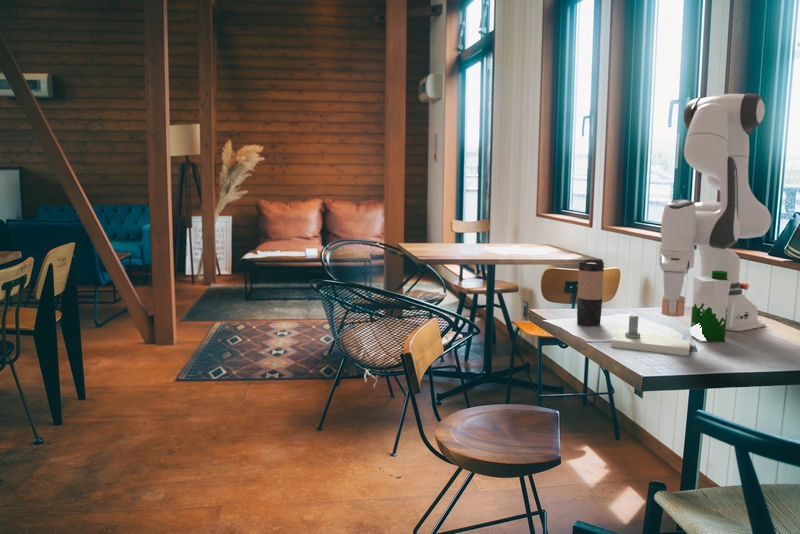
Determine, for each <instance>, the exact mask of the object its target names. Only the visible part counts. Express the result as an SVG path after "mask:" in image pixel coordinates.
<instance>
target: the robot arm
mask: <svg viewBox="0 0 800 534" xmlns="http://www.w3.org/2000/svg"><path fill="white" fill-rule="evenodd" d="M765 111H766V109H765V103H764V99H763V98H762V97H761V96H760V95H759V94H756V93H749V92H746V93H745V94H744V93H724V94H719V95H718V94H717V95H711V96H706V97H697V98H696V97H695V98H694V99H691V100H690V101H689V102H688V103H687V104H686V105H685V107H684V111H683V124H684V126H685V128H686V129H688V130H687V134H686V138H685V143H684V150H683V156H684V159H685V162H686V163H687V164H688V165H689V166H690V167H691V168H692V169H694V171H697V172H698V173H701V174H704V175H707V181H708V183H709V185H710V186H711V187H712V188H713V189H716V190H717V191H720V195H719V197H720V200H719V201H699V202H698V201H696V202H694V201H692V200H689V199H673V200H670V201H668V202H666V203H665V205H664V209H663V213H662V217H661V222H660V223H661V224H660V235H661V243H660V246H659V254H658V255H659V257H658V266H659V267H660V270H661V271H662V274H663V280H662V281H663V294H664V295H663V296H665V299H667V300H669V312H670V313H675V312H676V304H677V300H679V298H680V296H681V294H682V290H683V287H684V279H685V275H686V274H688V273H689V270H690V269H693V268H694V265H695V264H694V263H695V253H696V252H695V250H696V248H695V246H696V247H697V249H698V251H699V256H700V276H699V277H702V276H706V277H712V271H725V272H727V279H728V280H730V281H731V286H730V290H729V295H728V306H727V319H726V331H732V332H733V331H734V332H742V331H747V330H753V329H757V328H763V327H766V325H767V324H766V322H765V321H763V320H760V319H759V314H758V311H759V310H758V307H757V306H756V305H755V303H753V302H752V301H751V300H749V298H748V297H746V296H745V294H743V290H745V291H748V290H749V288H750V284H749V283H746V282H741V283H740V271H741V259H740V257H739V255H738V254H737V253H736V251H733V250H732V249H730V247H732V246H733V245H735V244H736V243H737V242H738V240H739V239H752V238H758V237H759V238H761V237H763V236H765V234H766V233H767V232H768V231H769V230H770V227H771V225H772V216H771V213H770V211H769V209H768V208H767V207H766V206H765V205H764V204H763V203H761V202H760V201H759V200H758V199H757V198H756V197H755V195H754V193H753V192H752V190H751V187H750V183H749V159H750V138H749V137H750V136H749V135H751V134H752V133H753V131H754V130H756V129H757V128H759V127H760V125H761V124H762V122H763V120H764V116H765Z"/></svg>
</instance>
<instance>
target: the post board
mask: <svg viewBox="0 0 800 534" xmlns="http://www.w3.org/2000/svg"><path fill="white" fill-rule="evenodd" d="M628 317H629V319H628V330H627V331H626V330H617V331H616V332H615V333H614V335H613V337H612V338H611V341H610V347H611V348H618V349H627V350H636V351H644V352H654V353H661V354H662V353H663V354H670V355H671V354H672V355H680V356H689V354H690V349H691V343H690V341H685V340H682V337H683V336H673V335H663V334H656V333H655V334H654V333H646V332H638V330H639V329H638V328H639V316H638V315H635V314H634V315H629V316H628Z"/></svg>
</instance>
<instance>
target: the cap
mask: <svg viewBox="0 0 800 534" xmlns="http://www.w3.org/2000/svg"><path fill="white" fill-rule="evenodd" d="M685 299H686V297H685V296H683V295H680V298H679V300H677V304H676V312H675V313H670V312H669V300H667V299H665V296H664V295H663V296H662V303H661V315H663V316H667V317H676V318H678V317H683V316H685V304H686V302H685V301H686V300H685Z"/></svg>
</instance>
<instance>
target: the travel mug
mask: <svg viewBox="0 0 800 534" xmlns="http://www.w3.org/2000/svg"><path fill="white" fill-rule="evenodd" d="M604 265H605V263H604V261H601V260H585V261H584V262H581V261H579V263H578V281H577V302H576V303H577V304H576V305H577V307H576V311H577V312H576V314H577V315H576V318H577V319H576V323H577V325H579V326H583V327H589V326H595V327H599V326H600V325H601V318H602V317H601V316H602V310H603V309H602V307H603V306H602V305H603V293H604V292H603V291H604V268H605V266H604Z"/></svg>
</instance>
